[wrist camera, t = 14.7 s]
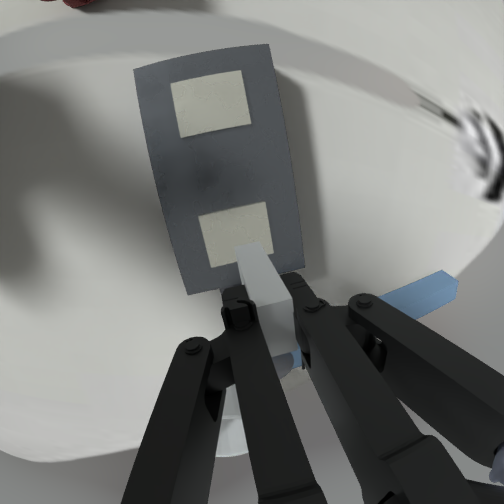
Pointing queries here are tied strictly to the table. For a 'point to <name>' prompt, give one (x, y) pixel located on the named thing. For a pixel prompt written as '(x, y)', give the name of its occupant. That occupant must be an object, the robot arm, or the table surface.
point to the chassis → (220, 161)
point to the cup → (231, 427)
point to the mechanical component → (74, 2)
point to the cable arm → (404, 299)
